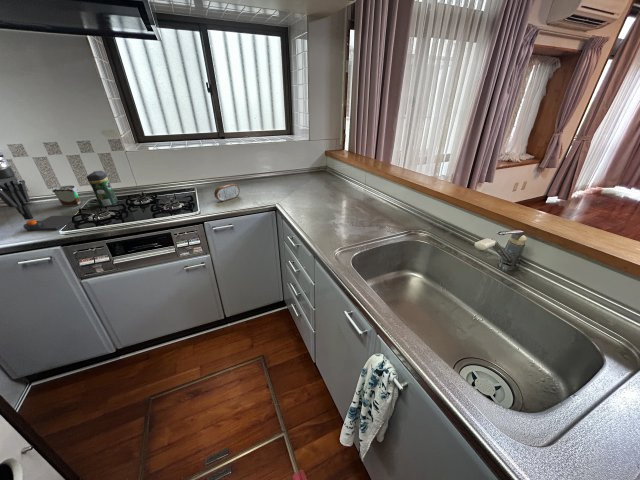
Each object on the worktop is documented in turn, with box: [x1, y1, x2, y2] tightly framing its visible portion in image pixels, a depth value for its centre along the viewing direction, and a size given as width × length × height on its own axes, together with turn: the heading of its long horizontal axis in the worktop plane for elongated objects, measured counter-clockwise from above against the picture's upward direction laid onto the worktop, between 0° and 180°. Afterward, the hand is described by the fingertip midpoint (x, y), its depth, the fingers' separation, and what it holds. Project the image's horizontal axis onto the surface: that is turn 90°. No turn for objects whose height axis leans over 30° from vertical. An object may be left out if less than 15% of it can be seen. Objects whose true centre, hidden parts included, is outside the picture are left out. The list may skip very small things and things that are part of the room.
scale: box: [22, 214, 76, 232], centre depth 130 cm, size 15×15×3 cm
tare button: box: [25, 218, 37, 225], centre depth 125 cm, size 3×3×2 cm
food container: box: [51, 185, 82, 207], centre depth 152 cm, size 12×6×10 cm, turn 89°
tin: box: [213, 183, 241, 202], centre depth 155 cm, size 15×3×8 cm, turn 136°
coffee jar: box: [86, 170, 118, 208], centre depth 148 cm, size 10×8×19 cm
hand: (29, 218), depth 124 cm, fingers closed
